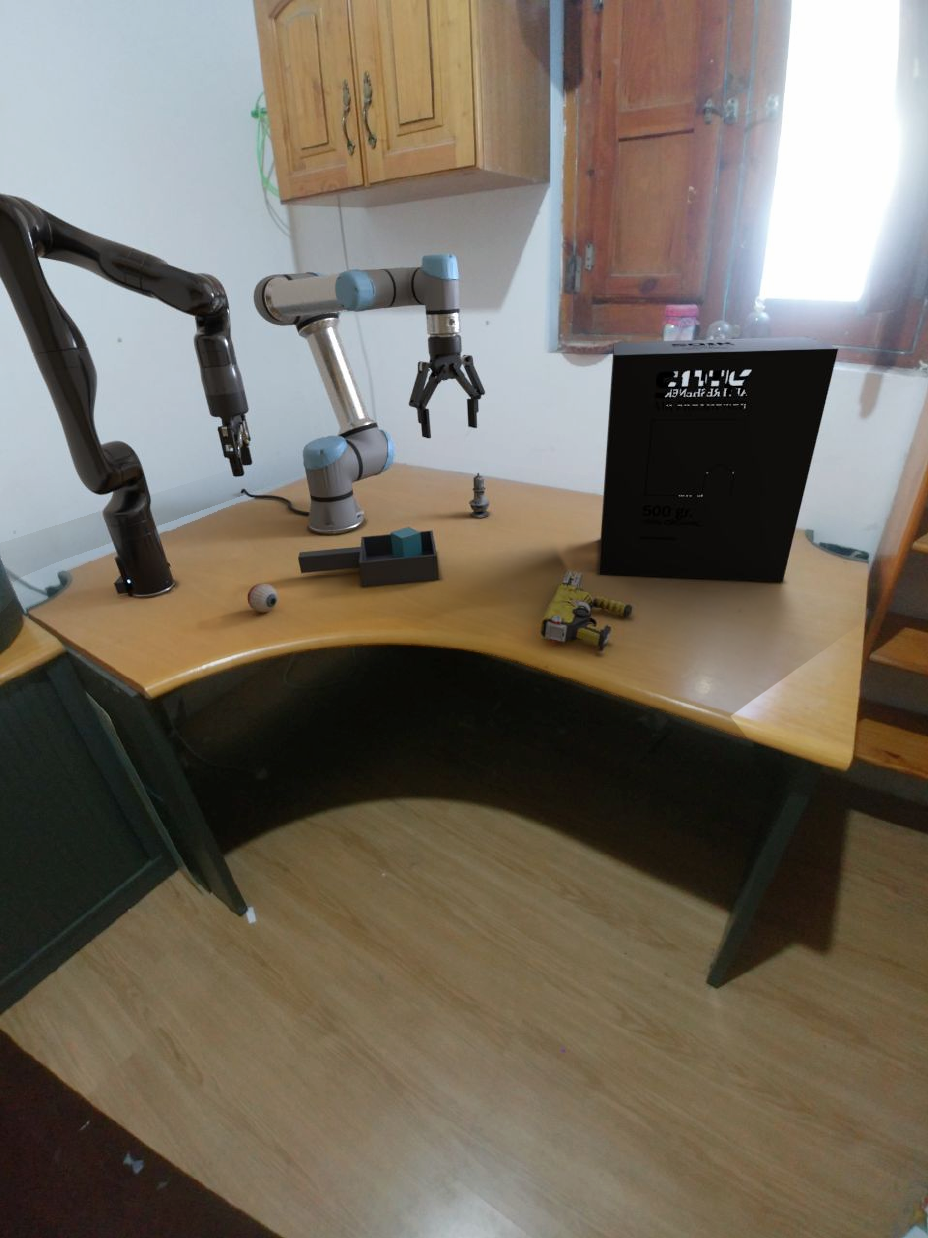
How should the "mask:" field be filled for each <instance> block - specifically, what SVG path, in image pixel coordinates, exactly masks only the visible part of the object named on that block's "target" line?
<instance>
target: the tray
mask: <svg viewBox="0 0 928 1238" xmlns="http://www.w3.org/2000/svg"><path fill="white" fill-rule="evenodd" d="M419 532H420V535H421V546H422V556H415V557H404V558H393V550H392V542H391V533H387V534H376V535H367V536H361V537H360V546H353V547H342V548H332V549H322V550H321V549H320V550H319V549H318V550H312V551H311V550H310V551H300V552H299V553H298V556H297V560H298V566H299V569H300V573H301V574H309V573H317V572H318V573H319V572H327V571H328V572H329V571H340V570H351V569H359V572H360V577H361V585H362V588H364V587H365V588H368V587H376V586H384V585H385V586H387V585H397V584H407V583H408V584H409V583H417V582H428V581H438V580H440V575H439V561H438V553H437V548H436V541H435V537H434V531H433V530H421V531H420V530H419Z"/></svg>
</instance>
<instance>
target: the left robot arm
mask: <svg viewBox="0 0 928 1238" xmlns="http://www.w3.org/2000/svg"><path fill="white" fill-rule="evenodd" d="M39 258H40V259H46V260H50V261H51V260H52V261H55V262H62V263H65V264H69V265H73V266H75V267H79V268H81V269H83V270H86V271H88V272H90V273H92V274H94V275H96V276H98V277H100V278H101V279H102V280H105V281H107V282H109V283H111V284H113V285H115V286H118V287H120V288H122V289H125V290H128V291H130V292H133V293H136V294H138V295H141V296H145V297H147V298H149V299H152V300H153V299H154V300H156V301H159V302H161V303H163V304H165V305H167V306H168V307H170V308H172V309H174V310H176V311H179V312H181V313H184V314H186V315H189V316H192V317H194V321H195V327H196V332H195V334H194V336H193V346H194V351H195V355H196V359H197V363H198V366H199V372H200V379H201V385H202V388H203V392H204V395H205V400H206V404H207V408H208V412H209V415H210V416H211V417H213V418H219V419H220V420H221V425H220V426H217V432H218V436H219V440H220V445H221V449H222V456H223V458H225V459H228V462H229V466H230V469H231V473H232V476H233V477H235V478H237V477H244V475H245V469H244V467H245V466H251V465H252V464H253V459H252V455H251V450H250V445H251V441H252V438H251V435H250V430H249V426H248V422H247V418H246V414H247V413H249V410H250V409H249V404H248V400H247V399H248V398H247V395H246V392H245V386H244V381H243V377H242V373H241V371H240V368H239V364H238V361H237V356H236V352H235V351H236V350H235V347H234V343H233V340H232V325H231V312H230V311H231V310H230V304H229V299H228V296H227V292H226V290H225V287H224V285H223V284H222V283H221V281H220V279H218V278H217V277H215V276H214V275H213V274H209V273H207V272H191V271H188V270H185V269H182V268H180V267H177V266H175V265H171V264H169V263H168V262H167V261H165V259H162V258H160V257H158V256H157V255H154V254H151V253H148V252H145V251H143V250H140V249H138V248H135V247H132V246H129V245H127V244H124V243H120V242H118V241H115V240H111V239H108V238H105V237H103V236H100V235H97V234H94V233H92V232H89V231H87V230H84V229H82V228H80V227H78V226H76V225H73V224H71V223H70V222H67V221H65V220H63V219H62V218H60V217H58V216H56V215H54V214H53V213H51V212H50V211H47V210H45V208H42V207H40V206H39V205H37V204H35V203H33V202H31V201H30V200H28V199H25V198H23V197H21V196H17V195H16V196H15V195H10V194H5V193H0V280H1V282H2V284H3V286H4V288H5V290H6V293H7V295H8V297H9V298H10V302H11V304H12V307H13V309H14V312H15V314H16V316H17V318H18V320H19V322H20V325H21V328H22V330H23V332H24V334H25V337H26V340H27V342H28V345H29V348H30V351H31V353H32V355H33V358H34V360H35V363H36V365H37V368H38V370H39V372H40V374H41V376H42V379H43V381H44V383H45V386H46V388H47V390H48V393H49V395H50V398H51V400H52V403H53V407H54V408H55V411H56V413H57V417H58V419H59V421H60V424H61V428H62V431H63V434H64V438H65V441H66V445H67V447H68V450H69V454H70V457H71V461H72V464H73V467H74V469H75V472H76V474H77V476H78V478H79V480H80V481H81V482H82V484H83V485H84V486H85V488H86V489H87V490H88V491H90V492H91V493H93V494H95V495H99V496H104V495H108V494H110V493H111V498H110V500H109V501H108V503H107V504H106V505H105V506H104V507H103V510H102V517H103V520H104V522H105V525H106V528H107V531H108V533H109V536H110V538H111V541H112V544H113V546H114V547H113V548H114V549H115V552H116V556H115V557H114V561H115V564H116V566H117V569H118V572H119V576H118V577H117V579H116V580H115V581H114V582H113V586H114V587H115V590H116V593H117V595H127V596H128V597H134V598H138V599H148V598H154V597H158V596H162V595H163V594H166V593H168V592H170V591H171V590H173V588H174V587H175V586H176V581H175V579H174V577H173V574H172V571H171V568H172V566H171V564H170V563H169V561H168V558H167V556H166V553H165V550H164V545H163V543H162V541H161V537H160V534H159V532H158V531H159V530H158V528H157V525H156V522H155V519H154V515H153V512H152V509H151V506H152V505H151V504H152V498H151V492H150V490H149V486H148V482H147V479H146V474H145V471H144V467H143V465H142V462H141V459H140V457H139V455H138V454H137V452H136V451H135V450H134V449H133V447H132V446H131V445H130V444H128V443H127V442H124V441H121V440H111V441H107V442H104V443H101V440H100V438H99V434H98V432H97V428H96V423H95V408H96V407H95V406H96V399H97V392H98V391H97V390H98V372H97V369H96V366H95V363H94V359H93V357H92V354H91V351H90V349H89V346H88V344H87V342H86V339H85V337H84V335H83V333H82V332H81V330H80V329H79V326H78V325H77V324H76V322H75V321H74V320H73V318H72V316H70V314H69V313H68V312H67V310H66V309H65V308H64V306H63V305H62V304H61V303H60V301H59V300H58V298H57V297H56V295H55V294H54V292H53V291H52V289H51V287H50V285H49V282H48V281H47V278H46V275H45V272H44V269H43V267H42V264H41V262H40V259H39ZM231 449H232V450H231Z"/></svg>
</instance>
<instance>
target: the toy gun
mask: <svg viewBox="0 0 928 1238" xmlns="http://www.w3.org/2000/svg"><path fill="white" fill-rule="evenodd" d="M573 573H574V572H573V570H568V571H566V573H565V576H564V578H563V580H562V581H561V583H560V584H559V585H558V588H557V590H556V591H555V592H554V593H555V594H554V595H553V597H552V599H551V602H550V603H549V605H548V608H547V610H546V611H545V614H544V616H543V618H542V620H541V626H540V635H541V637H542V638H544V639H547V640H548V642H549V643H552V642H553V643H554V644H558V643H559V642H561V643H570V642H574V641H575V640H577V639H579V640H581V641H584V642H588V643H591V644H593V645H595V646H598V651H600V652H603V651H604V649H605V648H606V646H607V645H608V644H609V641H610V636H611V631H612V627H611V626H609V625H608V624H606V625H605V626H604V627H603V629H602V628H600V627H597V625H598V623H597V620H596V619H595V618H593V617H592V614H591V611H592V610H593V609H594V608H596V609H601V610H602V611H607V612H608V613H613V614H614V615H620V616H621V617H624V618H630V616H631V614H632V612H633V606H632V605H631V604H627V603H621V602H620V601H617V602H616V601H615V600H613V599H612V600H610V599H609V598H604V597H602V596H599V595H598V596H596V598H594V600H593V598H592V596H591V594H590V593H589V592H586V591H582V590H580V588H581V583H582V578H583V576H582V573H581V572H578V571H577V572H576V573H575V574H573ZM572 576H573V578H572Z"/></svg>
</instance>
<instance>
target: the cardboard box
mask: <svg viewBox="0 0 928 1238" xmlns="http://www.w3.org/2000/svg"><path fill="white" fill-rule="evenodd" d="M612 347H613V348H612V363H611V375H610V376H611V377H610V393H609V407H608V423H607V437H606V452H605V469H604V482H603V495H602V497H603V498H602V514H601V525H600V526H601V527H600V545H599V570H598V571H599V575H612V576H632V577H633V576H634V577H635V576H637V577H659V578H679V579H680V578H682V579H701V580H702V579H703V580H729V581H754V582H772V583H773V582H774V583H775V582H776V583H783V582H784V579H785V574H786V570H787V567H788V563H789V557H790V553H791V549H792V545H793V541H794V537H795V536H794V535H795V532H796V527H797V524H798V519H799V515H800V511H801V506H802V503H803V500H804V499H803V498H804V495H805V490H806V486H807V483H808V477H809V474H810V469H811V466H812V465H811V464H812V460H813V456H814V453H815V448H816V444H817V439H818V436H819V431H820V428H821V423H822V419H823V415H824V411H825V406H826V403H827V398H828V394H829V391H830V386H831V382H832V377H833V373H834V370H835V364H836V360H837V357H838V353H839V348H838V347H835V346H832V345H830V344H827V343H825V342H822V341H819V340H816V339H815V338H811V337H809V336H805V335H804V336H780V337H779V336H775V337H774V336H773V337H749V338H748V337H747V338H745V337H744V338H743V337H742V338H721V339H720V338H717V339H716V338H715V339H689V340H688V339H687V340H684V339H683V340H656V341H655V340H653V341H625V342H624V341H623V342H621V341H620V342H613V346H612ZM696 371H697V372H701V373H700V376H699V375H696ZM745 371H750V372H749V373H748V374H747V375H742V374H743V372H745ZM676 372H677V375H676ZM686 372H689V373H688V381H687V385H683V382H684V381H683V380H684V376H683V375H684V374H685V373H686ZM711 372H712V373H711ZM732 373H733V378H732V381H733V382H739V381H742V382H741V385H740V384H739V385H736V384H735V385H732V384H731V383H730V378H731V374H732ZM711 374H712V375H711ZM700 382H702V385H700ZM713 382H718V385H712V384H713ZM671 383H675V385H674V386H673V385H671V386H670V384H671Z"/></svg>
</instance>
